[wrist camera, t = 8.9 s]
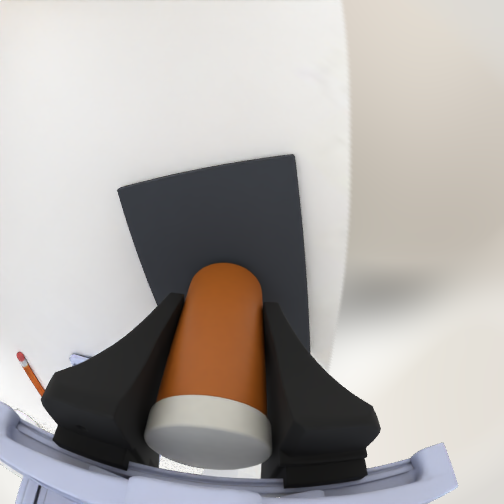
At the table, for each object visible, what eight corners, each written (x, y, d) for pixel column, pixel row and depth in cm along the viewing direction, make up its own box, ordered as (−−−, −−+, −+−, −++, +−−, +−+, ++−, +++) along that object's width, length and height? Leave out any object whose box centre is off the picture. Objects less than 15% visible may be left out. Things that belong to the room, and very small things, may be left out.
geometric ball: (254, 438, 28) (288, 488, 24) (199, 463, 27) (230, 512, 23) (241, 445, 22) (284, 507, 17) (173, 473, 21) (212, 532, 16)
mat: (309, 353, 17) (310, 357, 16) (187, 365, 17) (186, 369, 17) (293, 154, 11) (294, 155, 11) (120, 187, 12) (116, 189, 12)
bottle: (259, 325, 14) (262, 472, 7) (188, 318, 14) (155, 461, 7) (269, 264, 13) (283, 431, 6) (187, 256, 13) (130, 413, 5)
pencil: (23, 353, 19) (20, 357, 18) (77, 435, 27) (76, 438, 26) (18, 350, 19) (15, 355, 18) (73, 433, 27) (71, 437, 26)
